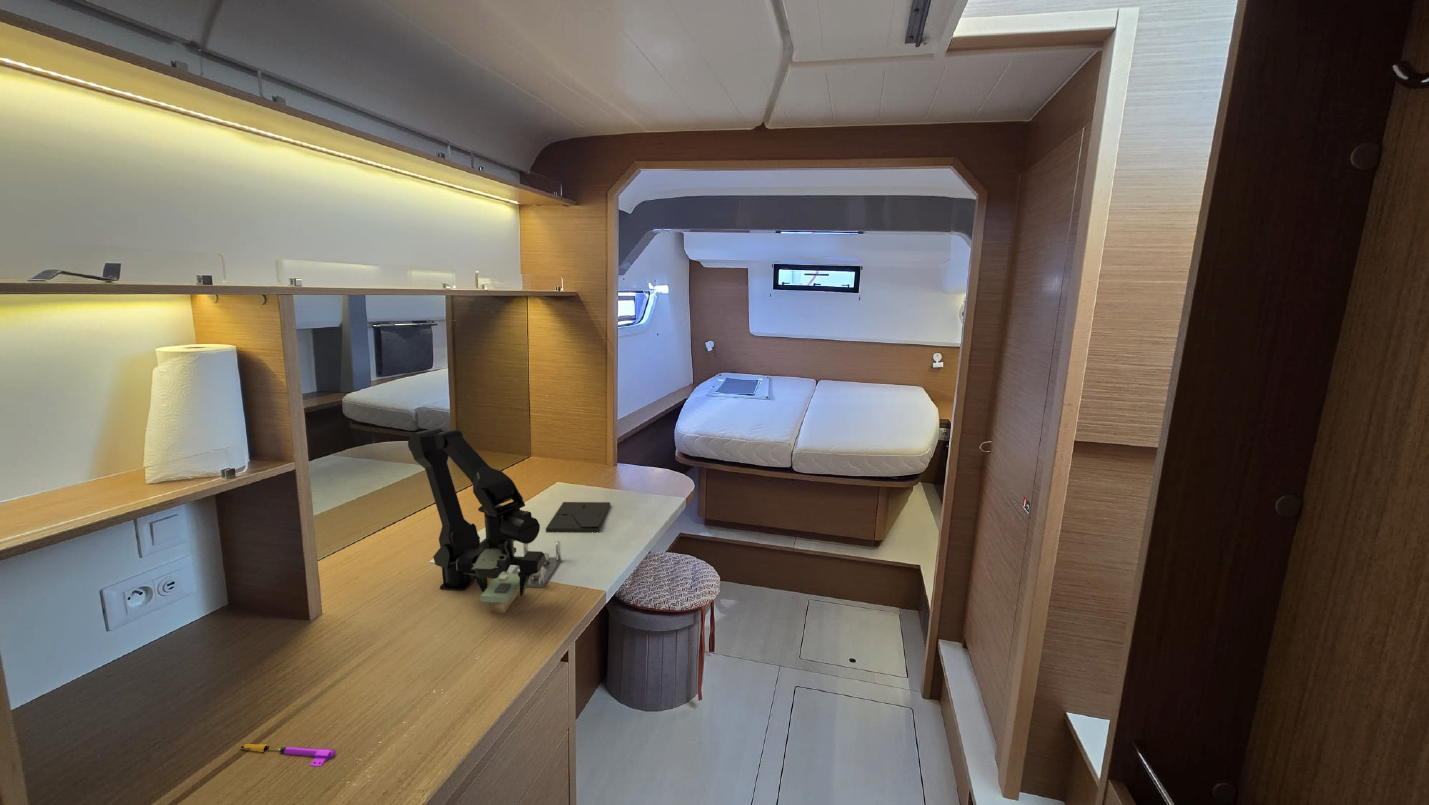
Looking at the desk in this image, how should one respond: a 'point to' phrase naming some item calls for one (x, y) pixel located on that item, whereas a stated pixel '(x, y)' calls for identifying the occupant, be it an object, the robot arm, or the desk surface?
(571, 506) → the picture frame
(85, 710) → the desk surface
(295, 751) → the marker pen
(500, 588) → the board
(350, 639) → the desk surface
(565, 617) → the desk surface
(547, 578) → the chassis
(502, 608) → the block
